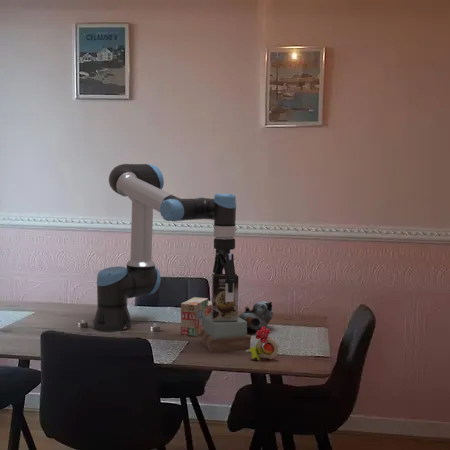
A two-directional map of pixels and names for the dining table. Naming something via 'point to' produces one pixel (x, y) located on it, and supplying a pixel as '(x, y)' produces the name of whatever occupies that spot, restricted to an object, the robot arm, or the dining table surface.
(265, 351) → the bird rattle
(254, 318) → the lucky cat figurine
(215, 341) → the walnut slab
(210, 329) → the grey-green block
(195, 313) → the stack of blocks
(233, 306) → the coffee box
